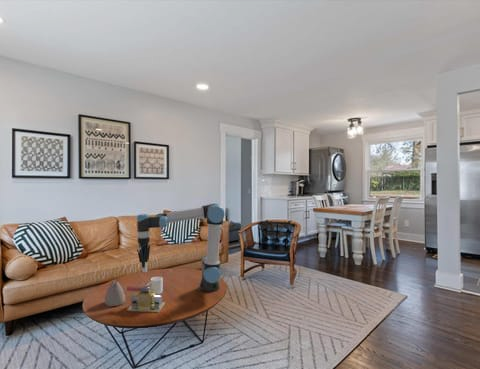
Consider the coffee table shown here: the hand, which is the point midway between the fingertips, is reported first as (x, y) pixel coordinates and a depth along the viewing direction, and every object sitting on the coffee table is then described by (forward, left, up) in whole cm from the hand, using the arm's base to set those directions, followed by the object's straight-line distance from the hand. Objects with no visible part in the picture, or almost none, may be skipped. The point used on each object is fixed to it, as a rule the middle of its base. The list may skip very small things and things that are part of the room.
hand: (144, 271), depth 187 cm
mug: (-2, -12, -20) cm, 23 cm away
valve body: (-5, +9, -20) cm, 22 cm away
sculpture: (+18, +5, -20) cm, 27 cm away
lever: (0, +9, -9) cm, 13 cm away
